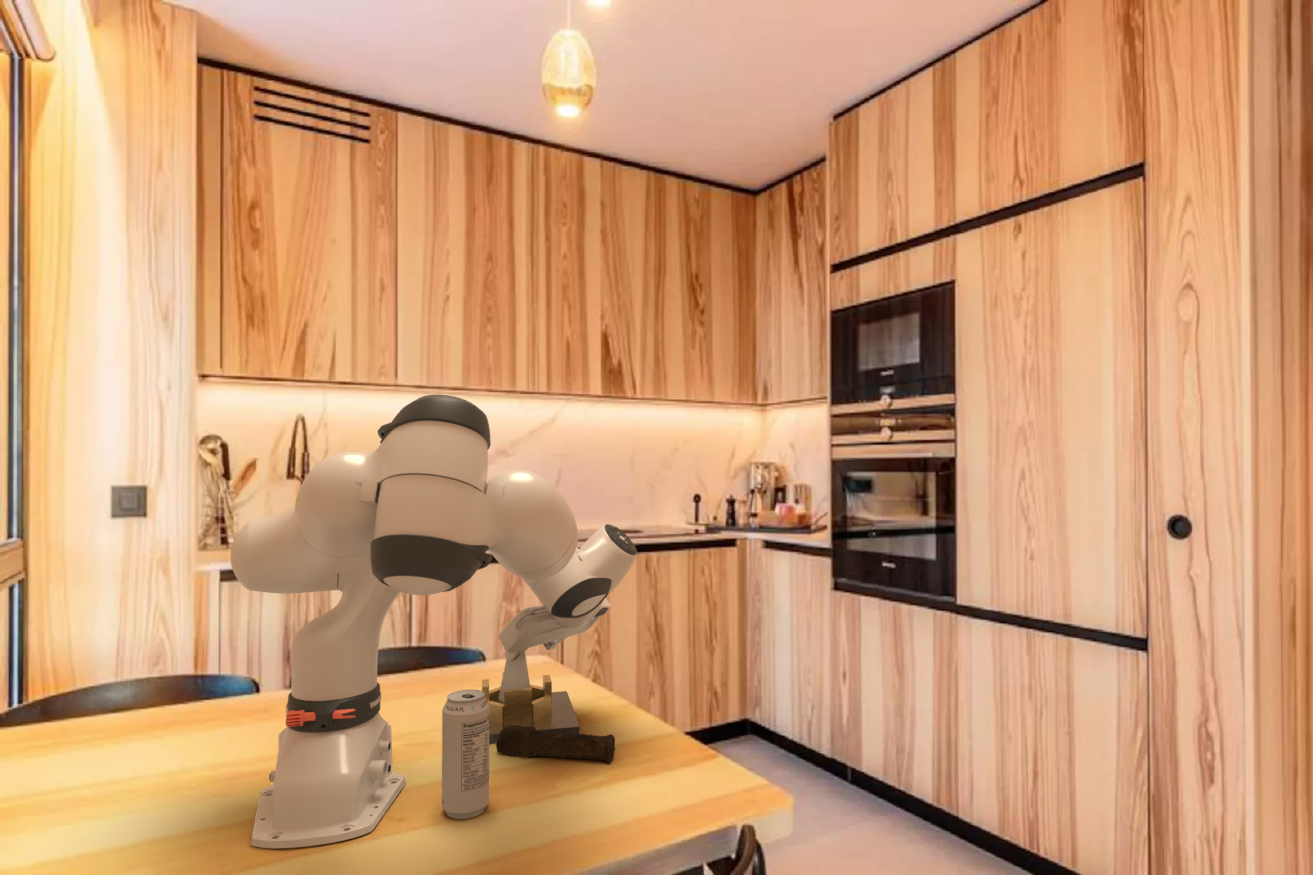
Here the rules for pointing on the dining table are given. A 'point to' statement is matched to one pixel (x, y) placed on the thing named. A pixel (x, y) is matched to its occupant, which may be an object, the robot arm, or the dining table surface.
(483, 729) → the energy drink can
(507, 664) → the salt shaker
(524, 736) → the dark brown textured rod
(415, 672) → the dining table surface
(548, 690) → the castellated collar
